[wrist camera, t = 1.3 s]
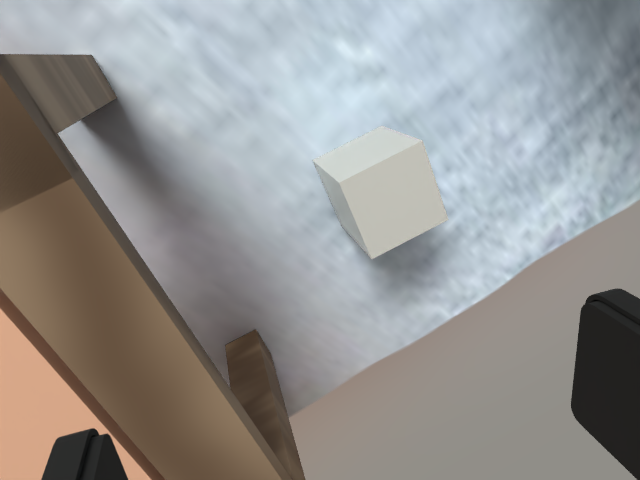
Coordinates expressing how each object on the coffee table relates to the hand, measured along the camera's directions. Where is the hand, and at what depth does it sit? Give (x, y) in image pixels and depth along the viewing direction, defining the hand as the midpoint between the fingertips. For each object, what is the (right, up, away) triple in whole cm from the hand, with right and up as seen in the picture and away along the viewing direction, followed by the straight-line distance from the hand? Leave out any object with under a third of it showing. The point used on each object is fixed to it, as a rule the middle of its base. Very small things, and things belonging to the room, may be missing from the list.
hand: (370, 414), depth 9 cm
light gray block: (+2, +8, +22) cm, 24 cm away
